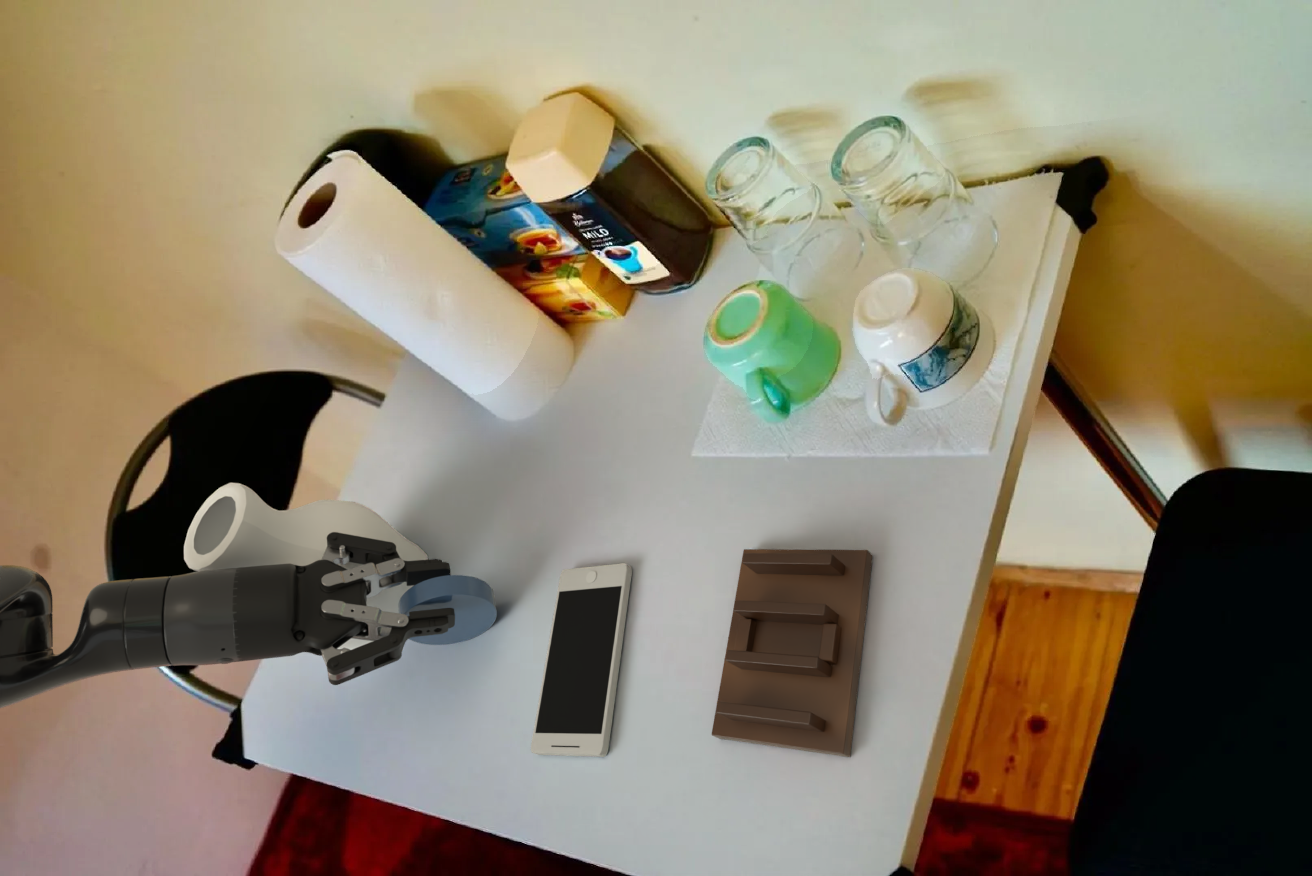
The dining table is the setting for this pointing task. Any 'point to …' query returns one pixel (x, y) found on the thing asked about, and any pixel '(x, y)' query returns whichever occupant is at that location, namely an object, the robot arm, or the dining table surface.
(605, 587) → the smartphone
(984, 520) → the dining table surface
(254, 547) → the vase
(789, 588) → the rack
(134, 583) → the robot arm
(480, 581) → the disc
